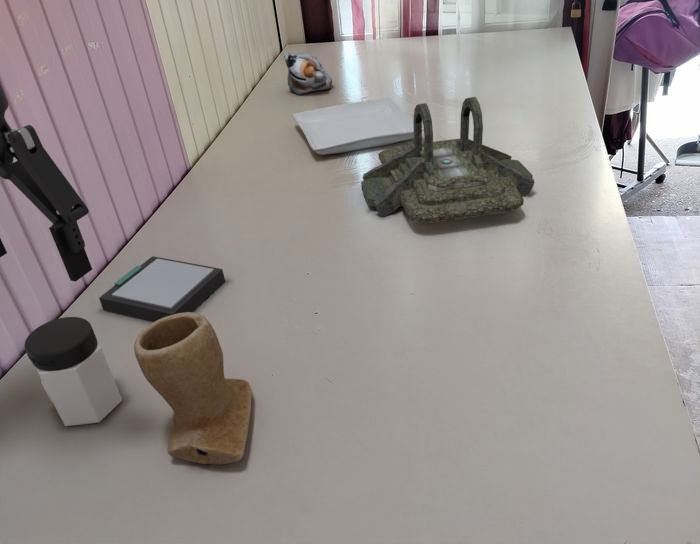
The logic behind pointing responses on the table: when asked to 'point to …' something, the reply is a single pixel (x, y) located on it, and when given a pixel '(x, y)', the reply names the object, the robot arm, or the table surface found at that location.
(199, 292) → the scale
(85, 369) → the jar
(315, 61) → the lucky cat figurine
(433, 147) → the grey stone stepped platform
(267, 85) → the table surface
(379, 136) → the square plate
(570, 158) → the table surface
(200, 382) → the clay smoking pipe
